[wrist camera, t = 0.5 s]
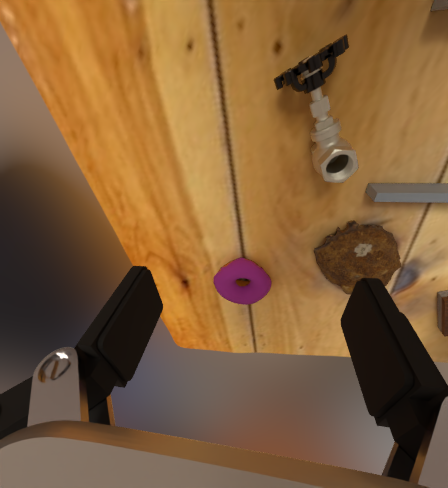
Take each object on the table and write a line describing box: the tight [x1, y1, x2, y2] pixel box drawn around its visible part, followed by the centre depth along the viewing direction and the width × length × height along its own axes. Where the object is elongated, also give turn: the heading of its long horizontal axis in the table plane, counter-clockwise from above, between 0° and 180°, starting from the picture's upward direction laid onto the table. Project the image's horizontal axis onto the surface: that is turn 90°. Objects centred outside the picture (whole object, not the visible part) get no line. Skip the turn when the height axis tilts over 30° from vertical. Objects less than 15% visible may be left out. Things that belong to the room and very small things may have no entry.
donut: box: [214, 258, 271, 304], centre depth 42 cm, size 10×10×5 cm
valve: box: [274, 35, 358, 183], centre depth 23 cm, size 7×7×12 cm
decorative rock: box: [314, 221, 401, 294], centre depth 36 cm, size 11×4×15 cm
